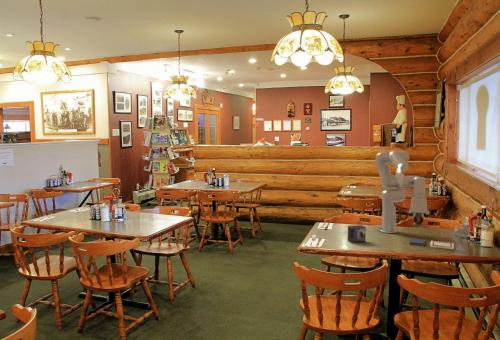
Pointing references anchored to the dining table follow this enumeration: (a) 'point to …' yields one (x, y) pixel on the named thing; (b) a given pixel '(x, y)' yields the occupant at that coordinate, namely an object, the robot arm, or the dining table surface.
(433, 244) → the marked board
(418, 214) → the stamp
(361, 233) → the small box
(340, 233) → the dining table surface
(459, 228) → the pig figurine
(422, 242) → the ink pad
